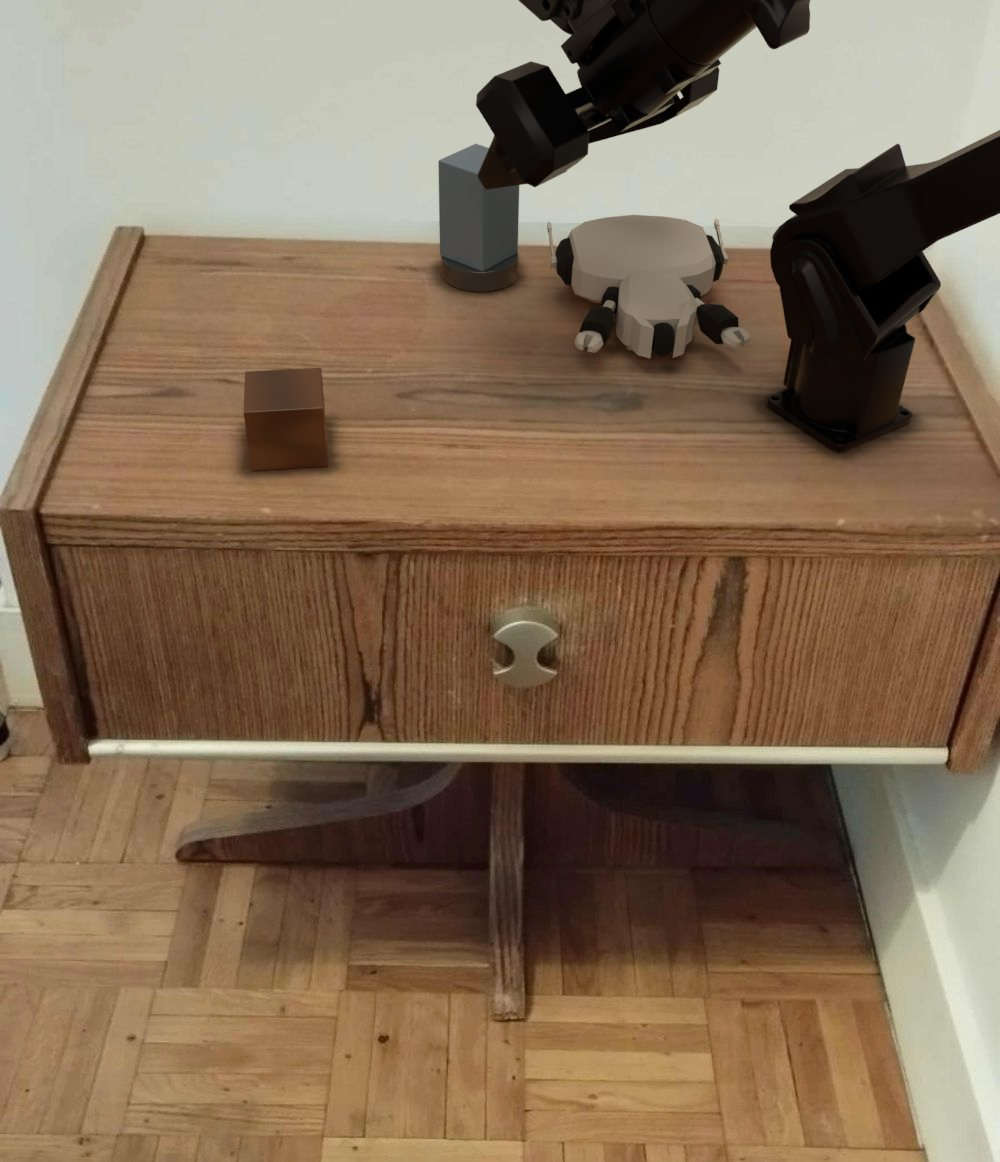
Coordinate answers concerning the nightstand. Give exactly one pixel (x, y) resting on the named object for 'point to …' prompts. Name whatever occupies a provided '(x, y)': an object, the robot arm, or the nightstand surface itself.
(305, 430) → the base block
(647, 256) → the robot toy
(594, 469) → the nightstand surface
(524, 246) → the nightstand surface
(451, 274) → the disc
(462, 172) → the top block
